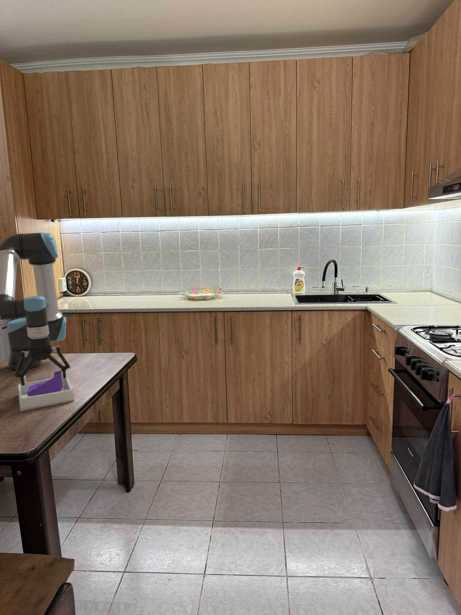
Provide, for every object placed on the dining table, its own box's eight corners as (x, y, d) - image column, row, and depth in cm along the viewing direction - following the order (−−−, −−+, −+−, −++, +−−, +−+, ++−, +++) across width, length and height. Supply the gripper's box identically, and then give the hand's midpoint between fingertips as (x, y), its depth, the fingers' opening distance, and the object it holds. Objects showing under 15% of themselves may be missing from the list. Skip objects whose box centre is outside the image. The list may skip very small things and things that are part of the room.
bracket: (61, 385, 179) (60, 369, 177) (61, 391, 172) (59, 374, 171) (29, 390, 175) (27, 373, 174) (27, 396, 168) (25, 379, 167)
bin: (19, 394, 178) (18, 384, 178) (68, 386, 186) (67, 375, 185) (20, 411, 162) (19, 399, 161) (74, 401, 170) (72, 389, 169)
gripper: (2, 343, 161) (10, 399, 165) (73, 334, 171) (79, 386, 175) (3, 339, 168) (10, 392, 172) (71, 330, 178) (76, 380, 182)
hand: (45, 389), depth 174 cm, fingers closed on bracket, 12 cm apart
